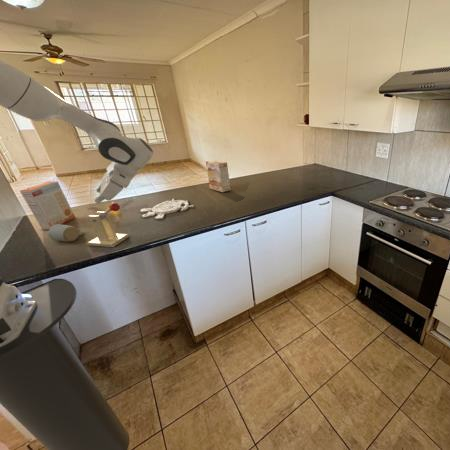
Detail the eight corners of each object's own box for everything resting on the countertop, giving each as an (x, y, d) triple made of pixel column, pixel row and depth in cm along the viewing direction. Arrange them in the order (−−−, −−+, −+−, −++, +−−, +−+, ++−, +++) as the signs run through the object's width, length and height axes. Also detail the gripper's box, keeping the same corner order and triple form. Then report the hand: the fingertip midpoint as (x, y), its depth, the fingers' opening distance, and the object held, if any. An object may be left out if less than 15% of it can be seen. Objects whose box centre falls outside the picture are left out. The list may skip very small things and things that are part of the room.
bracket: (128, 236, 116) (118, 210, 110) (113, 247, 108) (101, 219, 102) (105, 235, 117) (94, 209, 111) (89, 245, 110) (75, 217, 103)
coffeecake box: (209, 188, 176) (205, 161, 168) (218, 186, 181) (214, 159, 173) (222, 192, 168) (218, 163, 160) (231, 190, 173) (227, 161, 165)
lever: (123, 207, 105) (117, 200, 104) (117, 210, 102) (110, 203, 101) (104, 220, 110) (97, 213, 109) (97, 224, 107) (90, 217, 106)
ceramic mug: (68, 245, 110) (60, 229, 106) (52, 243, 111) (44, 228, 107) (89, 233, 119) (83, 219, 116) (74, 232, 120) (67, 218, 117)
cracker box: (65, 217, 135) (47, 180, 125) (76, 217, 135) (58, 180, 125) (40, 229, 123) (18, 190, 113) (52, 230, 122) (30, 190, 113)
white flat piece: (198, 204, 150) (198, 202, 150) (153, 222, 130) (152, 219, 129) (178, 197, 161) (178, 195, 160) (133, 212, 140) (132, 210, 140)
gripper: (113, 158, 105) (91, 181, 106) (111, 177, 91) (86, 203, 91) (128, 168, 110) (106, 190, 110) (128, 187, 96) (104, 212, 96)
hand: (97, 196), depth 101 cm, fingers open, 8 cm apart
